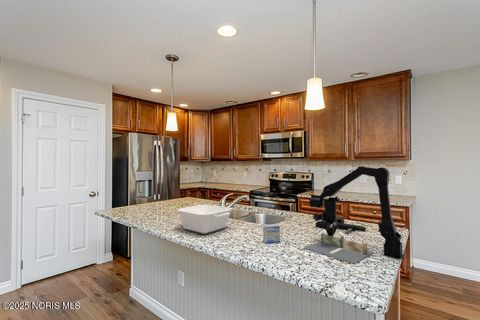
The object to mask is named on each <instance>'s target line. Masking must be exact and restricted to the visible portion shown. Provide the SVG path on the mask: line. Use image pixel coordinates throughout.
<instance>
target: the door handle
mask: <svg viewBox="0 0 480 320" xmlns="http://www.w3.org/2000/svg"><path fill="white" fill-rule="evenodd" d="M336 225H337V226H339V227H338V228H337V230H341V231H344V234H345V235H349V234H350V233H352V232H355V231H360V232H366V230H367V227H365V226H363V225H356V224H351V223H345V222H344V224H340V223H336Z"/></svg>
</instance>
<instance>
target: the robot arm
mask: <svg viewBox="0 0 480 320" xmlns="http://www.w3.org/2000/svg"><path fill="white" fill-rule="evenodd" d="M363 175H364V176H368V177H374V181H375V183H376V185H377V188H378V194H379V204H380V213H381V220H379V221H378V222H377V225H378V230H377V231H378V233H380V235H381V237H382V238H384V243H383V256H386V257H390V258H394V259H398V260H400V259H401V258H403V257H404V256H405V254H403V242H401V240H402V237H403V236H402V235H401V234H400V233H399V232H398V231H397V228H396V224H395V222H394V219H393V217H392V208H391V200H390V192H389V183H390V171H389V169H388V168H386V167H384V166H383V167H377V168H375V167H368V166H364V165H359V166H358V167H357V168H355V169H354V170H353V171H351V172H349V173H348V174H347V175H345V176H344V177H343V176H342V178H340V179H339V180H336V181H334V182H331V183H330V184H327V185H325V186H324V187H323V189H322V192H321V194H320V195H317V194H311V195H310V198H309V201H308V203H309V207H310V208H316V209H322V208H324V210H322V213H318V212H316V213H313V214H312V215H313V217H312V220H314V221H315V228H317V229H318V228H319V229H320V230H321V229H322V230H325V232H326V235H330V236H334V235H335V233H336V232H337V230H338V229H337V228H338V227H339V226H337V225H336V223H340V224H344V223H345V219H344V217H339V216H337V215H338V213H339V211H337V202H340V201H341V199H340V198H339V196H337V194H338V193H339V192H340V191H341V190H342V189H343V188H344V187H346V186H347V185H349V184H351V182H353V181H355V180H357V179H358V178H360V177H361V176H363ZM335 195H336V196H335ZM334 196H335V197H334ZM334 237H335V236H334Z"/></svg>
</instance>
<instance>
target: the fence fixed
mask: <svg viewBox="0 0 480 320" xmlns="http://www.w3.org/2000/svg"><path fill="white" fill-rule="evenodd" d="M340 238H341V248H344V249H348V250H351V251H355V252H359V253H362V254H364V255H367V251H368V243H366V242H362V243H360V242H357V241H354V240H353V241H352V240H349V239H345V236H344V235H343V236H342V235H341V236H340Z"/></svg>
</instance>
